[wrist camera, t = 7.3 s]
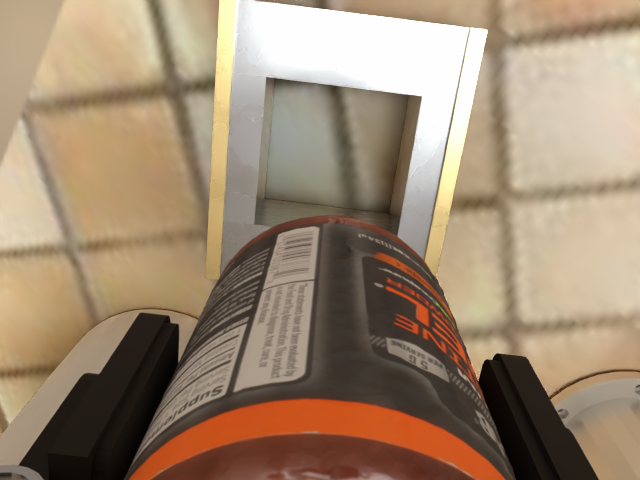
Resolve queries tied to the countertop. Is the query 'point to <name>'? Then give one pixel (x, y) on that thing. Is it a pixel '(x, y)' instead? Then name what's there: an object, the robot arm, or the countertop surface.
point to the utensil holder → (76, 378)
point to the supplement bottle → (324, 370)
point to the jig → (348, 71)
